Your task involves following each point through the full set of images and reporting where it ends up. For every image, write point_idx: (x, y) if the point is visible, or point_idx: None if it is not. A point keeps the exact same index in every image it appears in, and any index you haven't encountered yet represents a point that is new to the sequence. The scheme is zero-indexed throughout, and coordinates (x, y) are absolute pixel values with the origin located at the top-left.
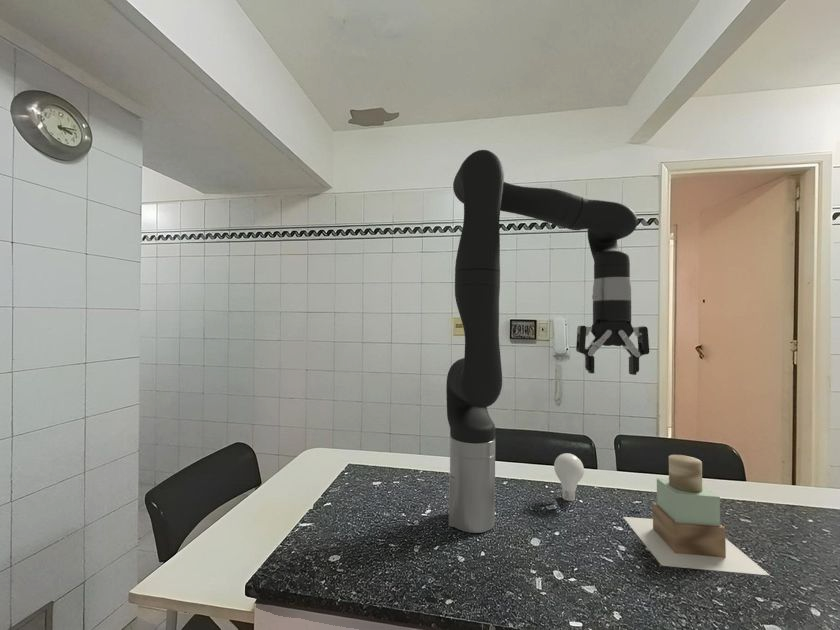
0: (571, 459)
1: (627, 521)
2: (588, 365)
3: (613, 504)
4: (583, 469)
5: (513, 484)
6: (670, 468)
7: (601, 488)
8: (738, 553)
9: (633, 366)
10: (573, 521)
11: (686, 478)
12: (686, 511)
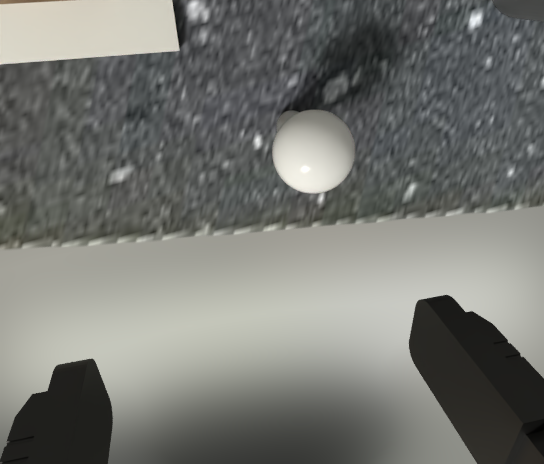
0: (322, 141)
1: (173, 23)
2: (499, 344)
3: (182, 142)
4: (278, 139)
5: (394, 186)
6: None
7: (193, 224)
8: None
9: (70, 423)
10: (300, 19)
11: None
12: None
